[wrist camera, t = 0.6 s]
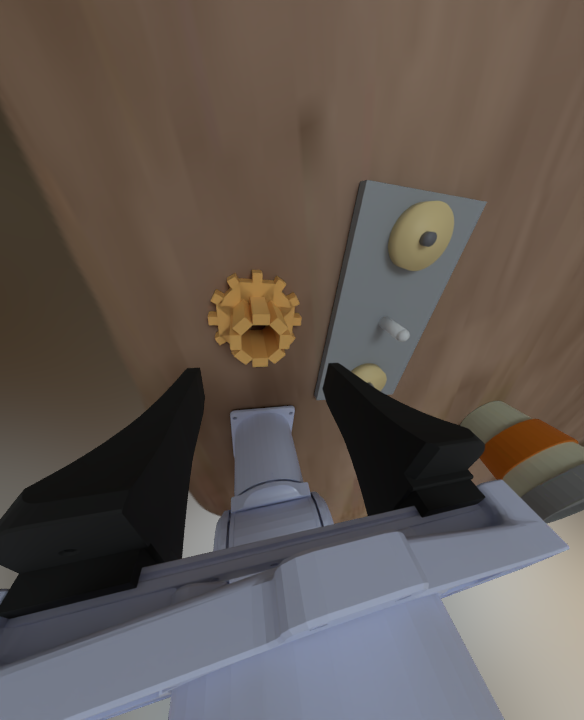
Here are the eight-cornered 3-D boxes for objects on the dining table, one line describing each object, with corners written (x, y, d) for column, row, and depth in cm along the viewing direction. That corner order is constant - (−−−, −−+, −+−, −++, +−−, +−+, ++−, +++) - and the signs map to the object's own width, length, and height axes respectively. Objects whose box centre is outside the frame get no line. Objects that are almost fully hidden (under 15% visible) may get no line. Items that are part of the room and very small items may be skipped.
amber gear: (293, 352, 23) (305, 381, 19) (214, 354, 21) (208, 387, 17) (303, 272, 18) (322, 289, 14) (204, 266, 16) (193, 283, 12)
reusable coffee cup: (475, 440, 46) (560, 521, 34) (438, 436, 41) (521, 529, 29) (526, 398, 40) (651, 478, 28) (490, 388, 35) (621, 479, 23)
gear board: (388, 389, 30) (409, 414, 26) (314, 394, 27) (326, 423, 23) (475, 202, 18) (537, 199, 14) (360, 181, 16) (398, 171, 12)
